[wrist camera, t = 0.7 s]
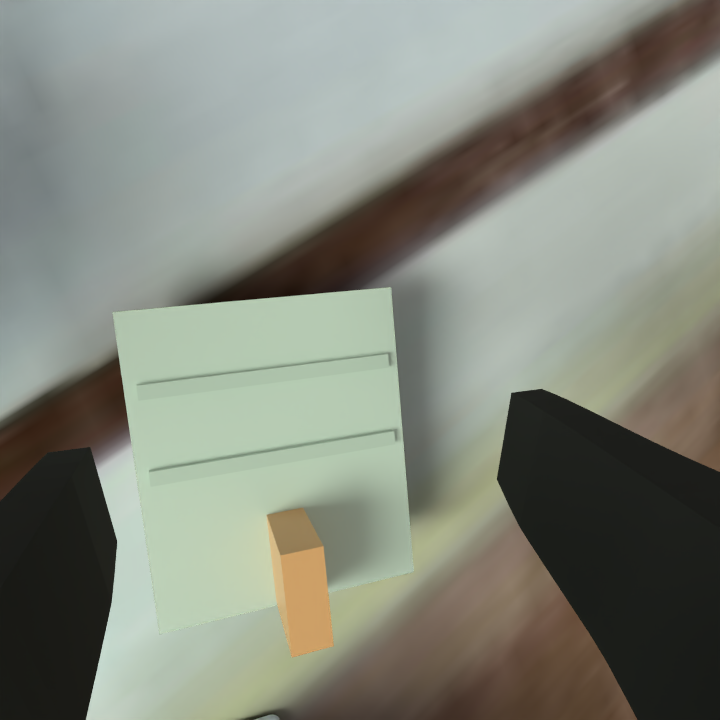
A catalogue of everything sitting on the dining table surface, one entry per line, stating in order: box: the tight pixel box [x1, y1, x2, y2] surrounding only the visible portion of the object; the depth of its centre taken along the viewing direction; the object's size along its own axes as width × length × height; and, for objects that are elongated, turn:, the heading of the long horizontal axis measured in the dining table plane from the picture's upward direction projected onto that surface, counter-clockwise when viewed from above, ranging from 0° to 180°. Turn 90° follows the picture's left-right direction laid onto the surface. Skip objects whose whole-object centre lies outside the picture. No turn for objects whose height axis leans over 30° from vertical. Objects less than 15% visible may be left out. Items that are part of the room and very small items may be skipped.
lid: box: [112, 287, 414, 657], centre depth 22 cm, size 13×11×6 cm
